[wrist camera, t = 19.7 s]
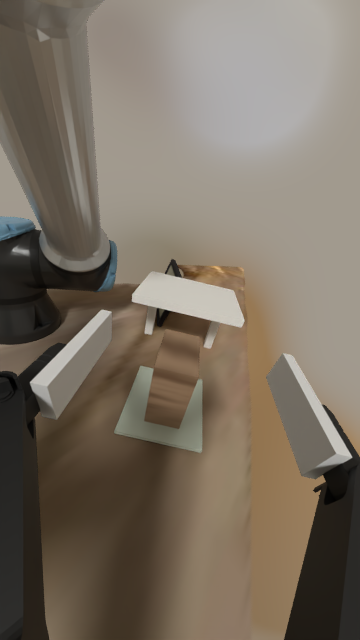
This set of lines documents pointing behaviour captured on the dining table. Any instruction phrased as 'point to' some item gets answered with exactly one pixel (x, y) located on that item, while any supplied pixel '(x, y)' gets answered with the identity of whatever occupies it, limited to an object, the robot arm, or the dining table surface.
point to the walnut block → (173, 379)
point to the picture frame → (171, 271)
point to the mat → (137, 428)
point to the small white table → (188, 302)
